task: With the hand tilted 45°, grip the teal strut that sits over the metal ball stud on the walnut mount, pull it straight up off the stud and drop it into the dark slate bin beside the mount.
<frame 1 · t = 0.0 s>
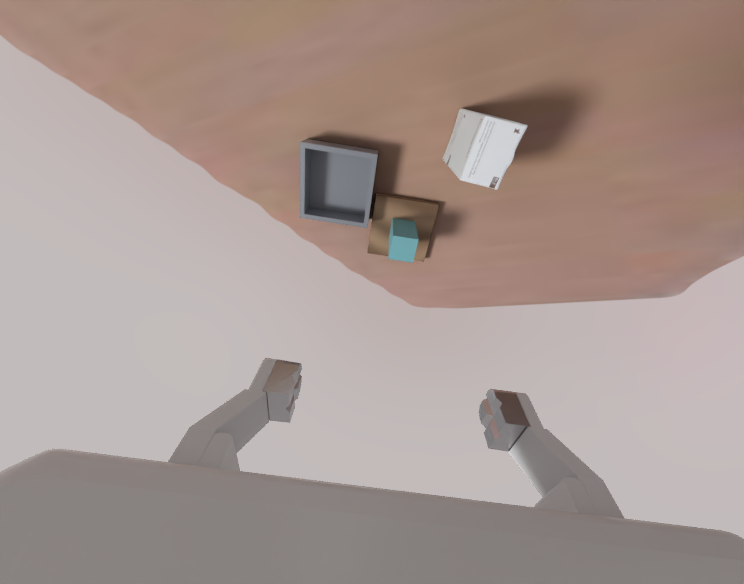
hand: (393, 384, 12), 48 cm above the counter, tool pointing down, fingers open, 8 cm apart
skincare box: (466, 140, 50), on the counter
bin: (340, 181, 54), on the counter
stud mount: (401, 227, 58), on the counter
strut: (401, 230, 57), point 1 cm above the counter, touching stud mount
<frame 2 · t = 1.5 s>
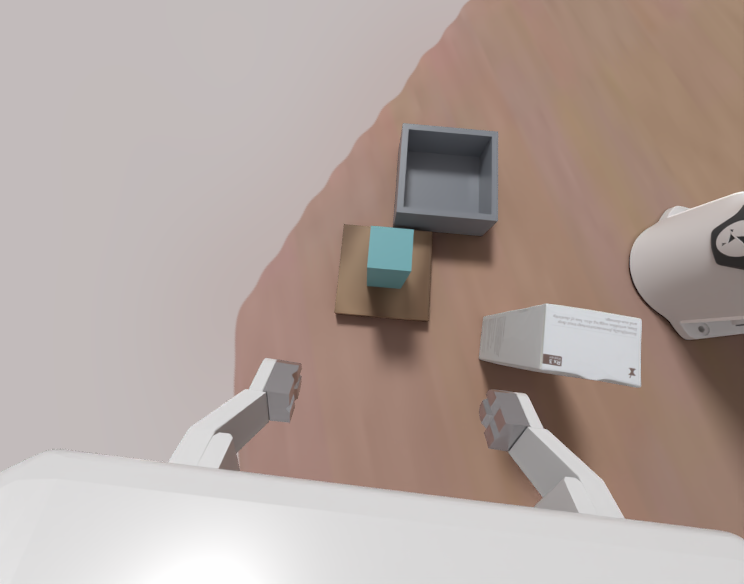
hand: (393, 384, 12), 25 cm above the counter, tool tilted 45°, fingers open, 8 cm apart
skincare box: (507, 343, 38), on the counter
bin: (439, 191, 42), on the counter
stud mount: (384, 273, 39), on the counter
strut: (384, 271, 38), point 1 cm above the counter, touching stud mount
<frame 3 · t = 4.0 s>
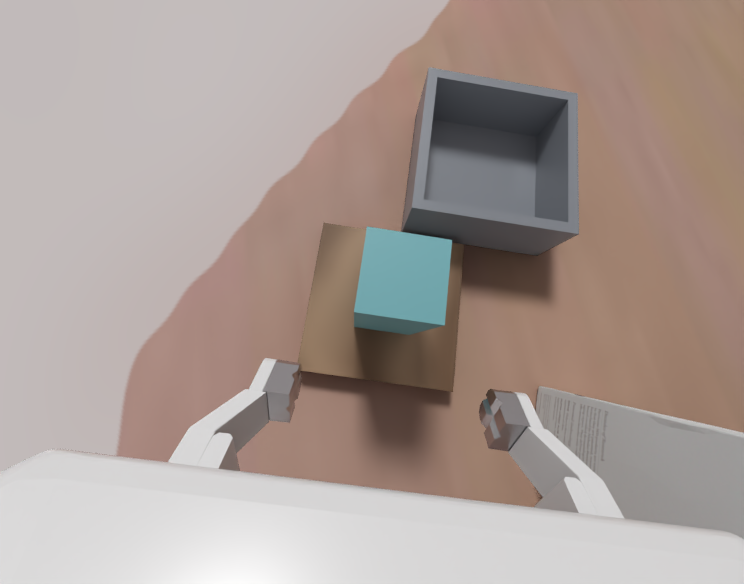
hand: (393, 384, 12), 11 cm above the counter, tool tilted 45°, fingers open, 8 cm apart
skincare box: (575, 432, 24), on the counter
bin: (473, 183, 27), on the counter
stud mount: (383, 306, 24), on the counter
strut: (385, 303, 23), point 1 cm above the counter, touching stud mount
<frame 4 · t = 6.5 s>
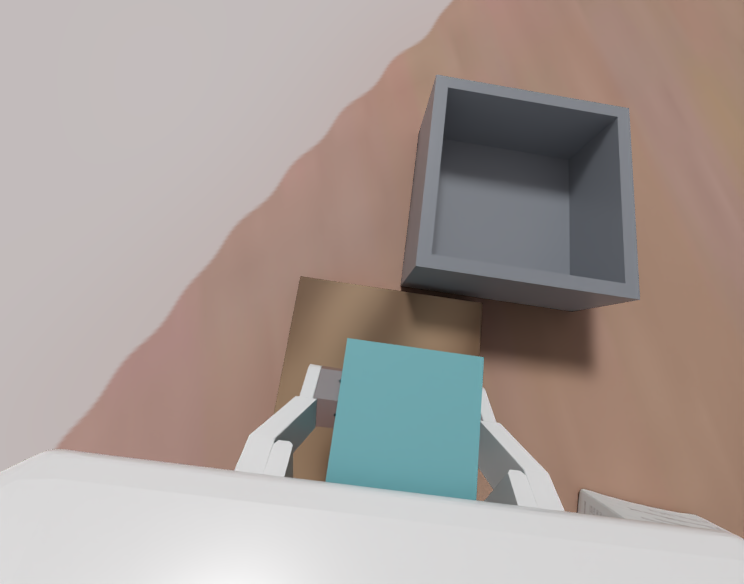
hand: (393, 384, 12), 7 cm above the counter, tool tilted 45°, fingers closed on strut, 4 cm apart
skincare box: (628, 549, 18), on the counter
bin: (491, 218, 22), on the counter
stud mount: (378, 382, 19), on the counter
strut: (380, 385, 17), point 2 cm above the counter, touching gripper, stud mount
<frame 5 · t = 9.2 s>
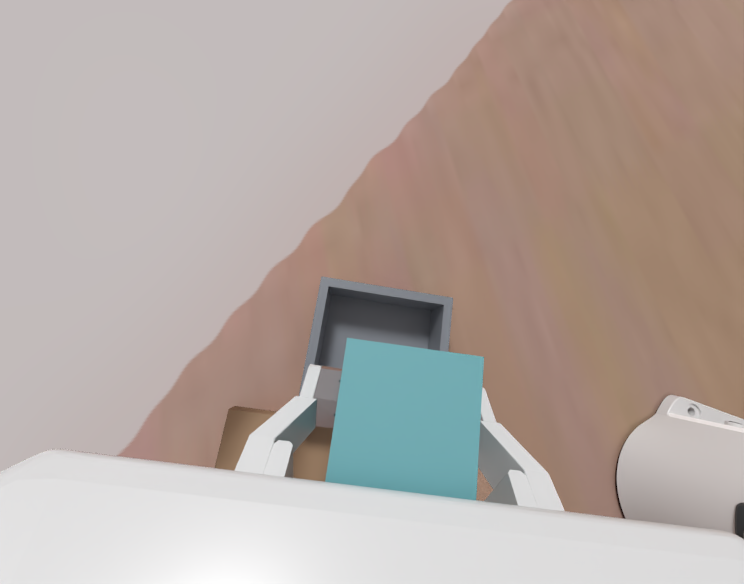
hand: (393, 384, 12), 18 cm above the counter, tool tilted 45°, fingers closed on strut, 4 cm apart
bin: (373, 354, 31), on the counter
stud mount: (282, 480, 28), on the counter
strut: (380, 385, 17), point 13 cm above the counter, touching gripper
when the fingers open (8 cm above the counter, at t = 12.3 s): strut drops 2 cm, resting on bin.
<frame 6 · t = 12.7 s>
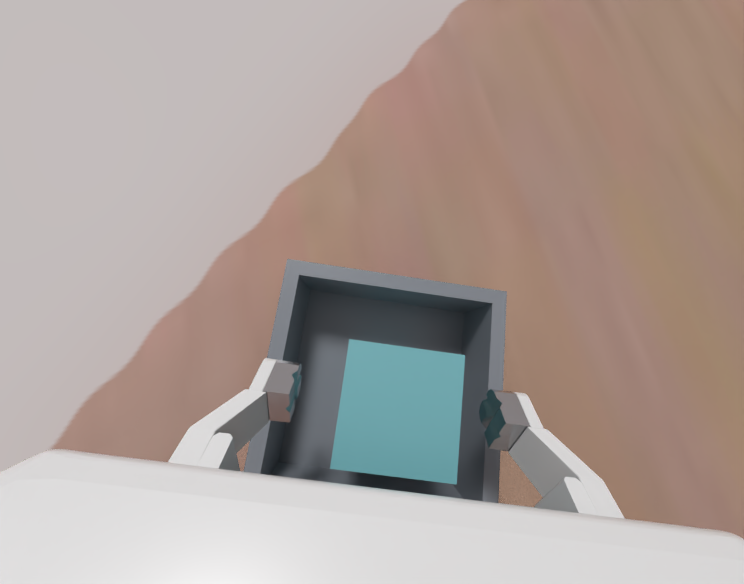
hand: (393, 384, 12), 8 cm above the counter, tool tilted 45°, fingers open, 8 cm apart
bin: (376, 381, 20), on the counter
strut: (379, 381, 19), point 1 cm above the counter, touching bin
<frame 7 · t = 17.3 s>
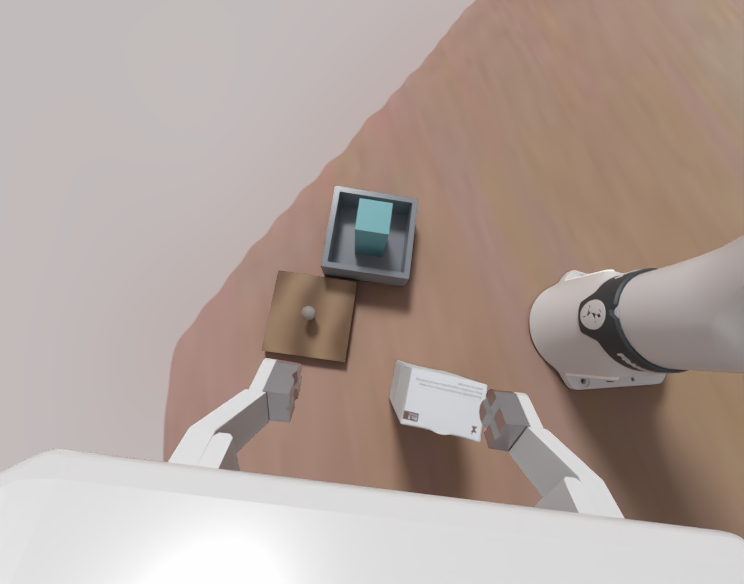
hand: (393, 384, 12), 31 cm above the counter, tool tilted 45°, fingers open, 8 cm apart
skincare box: (416, 385, 43), on the counter
bin: (369, 243, 47), on the counter
stud mount: (312, 316, 44), on the counter
strut: (370, 241, 46), point 1 cm above the counter, touching bin
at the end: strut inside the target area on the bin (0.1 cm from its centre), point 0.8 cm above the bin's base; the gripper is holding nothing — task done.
